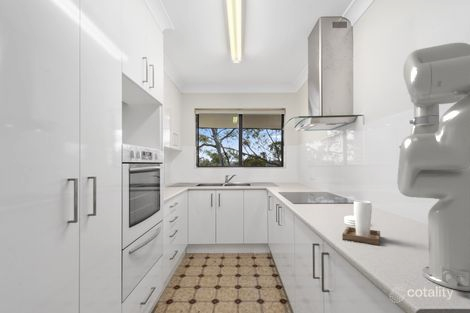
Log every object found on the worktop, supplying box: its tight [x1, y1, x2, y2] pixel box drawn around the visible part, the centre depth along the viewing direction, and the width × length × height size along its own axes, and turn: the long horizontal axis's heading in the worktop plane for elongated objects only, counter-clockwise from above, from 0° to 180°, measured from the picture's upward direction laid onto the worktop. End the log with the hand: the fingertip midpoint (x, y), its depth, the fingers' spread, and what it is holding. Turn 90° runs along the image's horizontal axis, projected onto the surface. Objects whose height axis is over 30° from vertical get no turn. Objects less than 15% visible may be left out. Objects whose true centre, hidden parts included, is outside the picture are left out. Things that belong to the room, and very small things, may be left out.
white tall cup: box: [353, 199, 373, 237], centre depth 102 cm, size 7×7×15 cm
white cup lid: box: [344, 215, 355, 227], centre depth 126 cm, size 10×10×4 cm
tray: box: [341, 226, 381, 247], centre depth 102 cm, size 13×13×2 cm
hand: (427, 167), depth 91 cm, fingers open, 9 cm apart
